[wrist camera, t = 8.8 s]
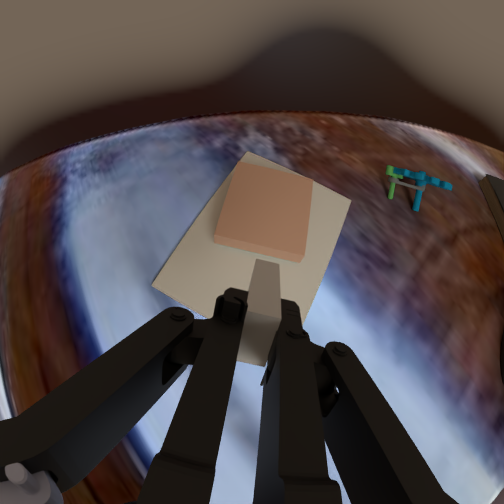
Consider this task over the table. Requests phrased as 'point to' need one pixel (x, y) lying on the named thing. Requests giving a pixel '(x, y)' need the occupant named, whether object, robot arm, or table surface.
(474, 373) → the table surface
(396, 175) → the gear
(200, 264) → the felt mat
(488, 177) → the dark hardcover book
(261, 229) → the tile
